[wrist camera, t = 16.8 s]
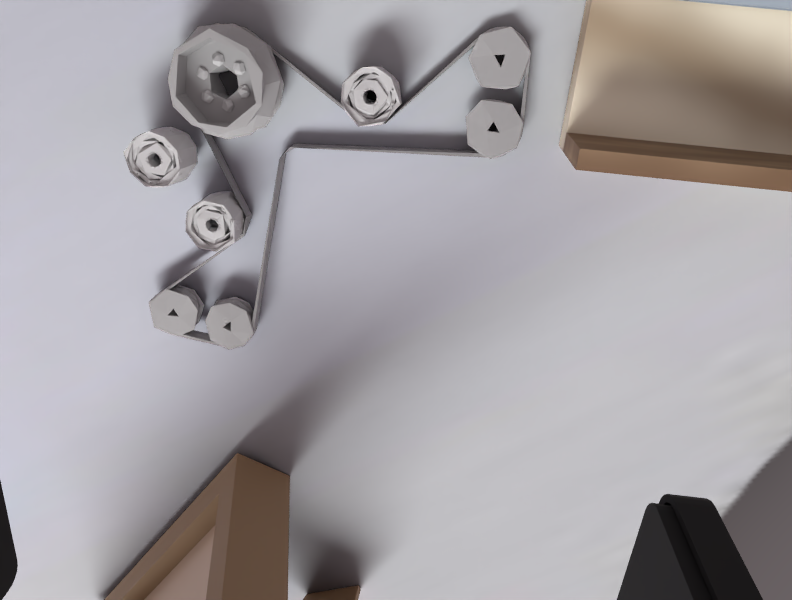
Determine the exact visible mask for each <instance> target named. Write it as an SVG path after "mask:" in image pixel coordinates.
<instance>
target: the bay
mask: <svg viewBox="0 0 792 600" xmlns="http://www.w3.org/2000/svg"><path fill="white" fill-rule="evenodd" d="M559 146H560V148H561V149H562V151H563V152H564V154H565V155H566V156H567V158H568V159H569V161H570V162H571V164H572V165H573V166H574V168H575V169H576V170H584V171H594V172H604V173H613V174H623V175H633V176H643V177H652V178H662V179H672V180H682V181H691V182H701V183H711V184H720V185H730V186H740V187H750V188H759V189H769V190H779V191H788V192H792V11H784V10H774V9H763V8H753V7H742V6H732V5H721V4H711V3H700V2H689V1H679V0H586V4H585V10H584V15H583V20H582V26H581V31H580V36H579V41H578V47H577V52H576V57H575V62H574V68H573V73H572V78H571V84H570V89H569V94H568V99H567V105H566V110H565V115H564V120H563V126H562V131H561V136H560V142H559Z"/></svg>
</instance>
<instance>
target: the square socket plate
mask: <svg viewBox="0 0 792 600" xmlns="http://www.w3.org/2000/svg"><path fill="white" fill-rule="evenodd" d="M679 1H689V2H700V3H711V4H721V5H732V6H742V7H753V8H763V9H774V10H784V11H792V0H679Z"/></svg>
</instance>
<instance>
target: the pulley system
mask: <svg viewBox="0 0 792 600" xmlns="http://www.w3.org/2000/svg"><path fill="white" fill-rule="evenodd" d="M474 45H475V46H474ZM473 46H474V48H473V50H472V52H471V54H470V56H469V61H470V63H471V66H472V68H473V71H474V73H475V76H476V79H477V80H478V82H479V83H480V85H481V86H482V87H487V88H497V89H509V88H514V87H518V86H519V84H520V82H521V80H522V78H523V76H524V74H525V79H524V88H523V96H522V104H521V112H520V116H519V115H518V113H517V111H516V110H515V108H514V106H513V105H512V104H510V103H507V102H504V101H501V100H494V99H486V100H481V101H480V102H479V103H478V104H477V105H476V106H475V107H474V108H473V109H472V111H471V112H470V113H469V114H468V115H467V116H466V127H467V142H468V145H469V146H471V147H472V148H473V149H474V150H476V151H471V150H446V149H421V148H396V147H371V146H345V145H320V144H294V145H292V146H291V147H289V149H288V150H287V151H286V152H288V151H289V150H291V149H293V148H313V149H333V150H352V151H371V152H391V153H410V154H429V155H448V156H468V157H487V158H490V159H491V158H496V157H500V156H503V155H505V154H506V153H508V152H510V151H512V150H514V149H515V148H517V146H518V143H519V141H520V139H521V136H522V132H523V124H524V114H525V104H526V94H527V84H528V75H529V65H530V55H531V51H530V49H529V46H528V44H527V42H526V40H525V38H524V37H523V36H522V35H521V34H520V33H518V32H517V31H516V30H515V29H514V28H512V27H494V28H491V29H489V30H487V31H486V32H484V33H482V34H481V35H480V36H479V37H478V38H477V39H475V40H474V41H473V42H472V43H471V44H470V45H469V46H468V47H467V48H466V49H465V50H464V51H462V52H461V53H460V54H459V55H458V56H457V57H456V58H455V59H454V60H453V61H452V62H451V63H449V64H448V65H447V66H446V67H445V68H444V69H443V70H442V71H440V72H439V73H438V74H437V75H436V76H435V77H434V78H433V79H432V80H430V81H429V82H428V83H427V84H426V85H425V86H424V87H423V88H421V89H420V90H419V91H418V92H417V93H416V94H415V95H414V96H413V97H411V98H410V99H409V100H408V101H407V102H406V103H405V104H404V105H402V106H401V107H400V108H399V109H398V110H397V111H396V112H395V113H393V112H394V111H395V110H396V109H397V108H398V107H399V106H400V105H401V104H402V99H401V92H400V85H399V82H398V80H397V79H396V78H395V77H394V76H393V75H392V74H391V73H390V72H388V71H387V70H386V69H384V68H383V67H378V66H370V67H362V68H360V69H358V70H356V71H355V72H353V73H352V74H351V75H350V76H349V77H348V78H347V79H346V80H345V81H344V82H343V83H342V93H341V103H340V102H339V101H337V100H336V99H335V98H334V97H332V96H331V95H330V94H329V93H327V92H326V91H325V90H324V89H322V88H321V87H320V86H319V85H318V84H316V83H315V82H314V81H313V80H311V79H310V78H309V77H308V76H306V75H305V74H304V73H303V72H301V71H300V70H299V69H298V68H297V67H295V66H294V65H293V64H292V63H290V62H289V61H288V60H287V59H285V58H284V57H283V56H282V55H280V54H279V53H278V52H277V51H275V50H274V49H273V48H272V47H271V46H270V45H269V44H267V43H266V42H265V41H263V40H262V39H261V38H259V37H258V36H257V35H256V34H254V33H253V32H252V31H250V30H249V29H247V28H246V27H240V26H237V25H236V24H234V23H231V24H220V23H214V24H213V25H207V26H198V27H197V28H196V29H195V31H194V32H193V33H192V34H191V35H190V36H189V38H188V39H187V40H186V41H185V42H184V43H183V45H181V46H180V47H178V48H177V49H175V50H174V54H173V58H172V62H171V67H170V71H169V75H168V84H169V89H170V94H171V100H172V105H173V107H174V108H175V109H176V110H177V111H178V112H179V113H180V114H181V115H182V116H183V117H184V118H185V119H186V120H187V121H188V122H189V123H190V124H191V125H193V126H196V127H199V128H201V130H202V132H203V134H204V136H205V138H206V139H207V141H208V143H209V145H210V147H211V149H212V151H213V153H214V155H215V157H216V159H217V161H218V163H219V165H220V167H221V169H222V171H223V172H224V174H225V176H226V178H227V180H228V182H229V184H230V186H231V188H232V190H233V192H234V193H233V192H232V191H231V192H230V191H221V192H216V193H211V194H209V195H208V196H207V197H205V198H204V199H203V200H201V201H200V202H198V203H196V204H195V205H193V206H192V207H191V208H190V209H189V210H188V211H187V215H186V232H187V234H188V235H189V236H190V238H191V239H192V240H193V242H194V243H195V244H196V245H197V247H198V248H201V249H206V250H211V251H215V252H216V251H218V250H220V249H222V250H220V251H219V252H217V253H216V254H215V255H213V256H212V257H210V258H209V259H207V260H206V261H205V262H203V263H202V264H200V265H199V266H197V267H196V268H194V269H193V270H191V271H190V272H188V273H187V274H186V275H184V276H183V277H181V278H180V279H178V280H177V281H175V282H174V283H172V284H171V285H170V286H168V287H167V288H165V289H164V290H162V291H161V292H159V293H158V294H157V295H156V296H155V297H154V298H153V299H151V300H150V301H149V306H150V311H151V315H152V320H153V324H154V328H157V329H159V330H161V331H164V332H166V333H168V334H172V335H175V336H180V337H184V338H189V339H193V340H197V341H201V342H206V343H210V344H214V345H219V346H223V347H224V348H226V349H228V350H230V349H234V348H237V347H242V346H245V344H246V343H247V342H248V341H249V340H250V339H251V338H252V336H253V335H254V333H255V331H256V329H257V325H258V319H259V313H260V307H261V301H262V295H263V289H264V283H265V277H266V271H267V265H268V259H269V253H270V247H271V241H272V235H273V229H274V223H275V217H276V211H277V205H278V198H279V192H280V186H281V180H282V174H283V168H284V162H285V156H286V152H285V153H284V154H283V155H282V156H281V158H280V159H279V165H278V171H277V177H276V182H275V188H274V194H273V200H272V206H271V212H270V218H269V224H268V230H267V236H266V242H265V248H264V254H263V260H262V265H261V271H260V277H259V283H258V289H257V295H256V301H255V307H254V311H253V309H252V307H251V306H250V304H249V303H248V302H246V301H244V300H242V299H240V298H237V297H231V298H226V299H221V300H217V301H216V303H215V305H214V306H211V308H210V311H209V313H208V316H207V318H206V320H205V322H206V326H207V329H208V333H209V334H208V333H203V332H199V331H194V328H195V325H196V324H197V323H198V322H199V321H200V318H201V315H202V311H203V308H204V304H203V302H202V301H201V299H200V298H199V296H198V295H197V293H196V292H195V290H194V289H190V288H187V287H184V286H180V285H177V284H178V283H179V282H181V281H182V280H183V279H185V278H186V277H188V276H189V275H190V274H192V273H193V272H195V271H196V270H197V269H199V268H200V267H201V266H203V265H204V264H206V263H207V262H208V261H210V260H211V259H213V258H214V257H215V256H217V255H218V254H220V253H221V252H222V251H224V250H225V249H227V248H228V247H229V246H231V245H232V244H234V243H235V242H236V241H238V240H239V239H241V238H242V237H243V236H245V234H246V231H247V229H248V226H249V223H250V220H251V217H252V214H251V212H250V210H249V208H248V206H247V204H246V202H245V200H244V198H243V196H242V194H241V192H240V190H239V188H238V186H237V184H236V182H235V180H234V178H233V176H232V174H231V172H230V170H229V168H228V166H227V164H226V162H225V160H224V158H223V156H222V154H221V152H220V150H219V149H218V147H217V145H216V143H215V141H214V139H213V137H212V136H211V135H213V136H217V137H221V138H225V139H232V138H237V137H242V136H247V135H251V134H253V133H254V132H255V131H256V130H257V129H261V128H265V127H266V126H267V125H268V123H269V122H270V120H271V119H272V117H273V116H274V114H275V113H276V111H277V110H278V108H279V107H280V105H281V100H282V94H283V88H284V82H283V79H282V77H281V74H280V70H279V68H278V66H277V63H276V60H275V57H274V55H273V53H274V54H275V55H276V56H277V57H279V58H280V59H281V60H282V61H284V62H285V63H286V64H287V65H289V66H290V67H291V68H292V69H294V70H295V71H296V72H297V73H299V74H300V75H301V76H302V77H304V78H305V79H306V80H307V81H309V82H310V83H311V84H312V85H314V86H315V87H316V88H317V89H319V90H320V91H321V92H322V93H323V94H325V95H326V96H327V97H328V98H330V99H331V100H332V101H333V102H335V103H336V104H337V105H338V106H340V107H341V108H342V109H343V110H345V111H346V113H347V114H348V116H349V117H350V118H351V119H352V120H353V121H354V122H355V123H356V124H357V125H358V126H375V125H382V124H386V123H387V122H388V121H389V120H390V119H391V118H392V117H393V116H395V115H396V114H397V113H398V112H399V111H400V110H401V109H403V108H404V107H405V106H406V105H407V104H408V103H409V102H411V101H412V100H413V99H414V98H415V97H416V96H417V95H418V94H420V93H421V92H422V91H423V90H424V89H425V88H426V87H428V86H429V85H430V84H431V83H432V82H433V81H434V80H436V79H437V78H438V77H439V76H440V75H441V74H442V73H444V72H445V71H446V70H447V69H448V68H449V67H450V66H452V65H453V64H454V63H455V62H456V61H457V60H458V59H460V58H461V57H462V56H463V55H464V54H465V53H466V52H467V51H469V50H470V49H471V48H472V47H473ZM494 55H504V56H503V60H502V64H501V66H500V65H499V63H498V61H497V59H496V58H495V56H494ZM227 71H231V72H233V73H234V74H235V75H236V76H237V80H238V87H239V88H238V89H237V91H236V92H235V93H234V94H232V95H228V94H227V92H226V90H225V88H224V86H223V84H222V81H221V79H220V77H219V73H222V72H227ZM369 90H373V91H374V92H375V94H376V96H377V98H376V101H375V100H371V99H368V91H369ZM392 113H393V114H392ZM492 123H495V125H496V127H497V129H496V130H495V131H494V132H491V130H490V126H491V125H492ZM123 153H124V156H125V159H126V161H127V164H128V167H129V170H130V173H131V174H132V175H133V176H134V177H135V178H136V179H138V180H139V181H140V182H141V183H142V184H143V185H145V186H146V187H166V186H169V185H172V184H175V183H178V182H181V181H183V180H186V179H187V178H188V176H189V175H190V173H191V172H192V171H193V169H194V168H195V166H196V165H197V163H198V161H197V146H196V145H195V143H194V142H193V140H192V139H191V137H190V136H189V134H188V133H186V132H184V131H181V130H179V129H177V128H174V127H170V126H169V127H162V128H155V129H153V130H150V131H148V132H146V133H143V134H140V135H139V136H137V137H135V138H134V139H133V140H132V141H131V143H130V144H129V145H128V147H127V148H126V149H125V151H124V152H123ZM241 234H242V235H241ZM240 235H241V236H240Z"/></svg>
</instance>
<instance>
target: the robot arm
mask: <svg viewBox="0 0 792 600" xmlns="http://www.w3.org/2000/svg"><path fill="white" fill-rule="evenodd" d="M17 566H18V565H17V557H16V553H15V548H14V543H13V538H12V534H11V529H10V524H9V519H8V515H7V510H6V505H5V500H4V496H3V491H2V486H1V482H0V600H2V599H3V597H4V596H5V595H6V593H7V592H8V591H9V589H10V587H11V586H12V584H13V581H14V579H15V576H16V573H17ZM617 600H763V599H762V597H761V595H760V593H759V591H758V589H757V587H756V585H755V583H754V581H753V579H752V578H751V576H750V574H749V572H748V570H747V568H746V566H745V564H744V562H743V560H742V558H741V556H740V554H739V552H738V550H737V548H736V546H735V544H734V542H733V540H732V539H731V537H730V535H729V533H728V531H727V529H726V527H725V525H724V523H723V521H722V519H721V517H720V515H719V513H718V511H717V509H716V507H715V506H714V504H713V503H712V502H711V501H710V500H708V499H705V498H697V497H688V496H680V495H671V494H666V495H664V496H663V497H662V498H661V500H660V502H659V504H655V503H650V504H649V505H648V506H647V508H646V510H645V513H644V516H643V519H642V523H641V526H640V529H639V532H638V535H637V538H636V541H635V545H634V548H633V551H632V554H631V557H630V560H629V563H628V566H627V570H626V573H625V576H624V579H623V582H622V585H621V588H620V592H619V595H618V598H617Z"/></svg>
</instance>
